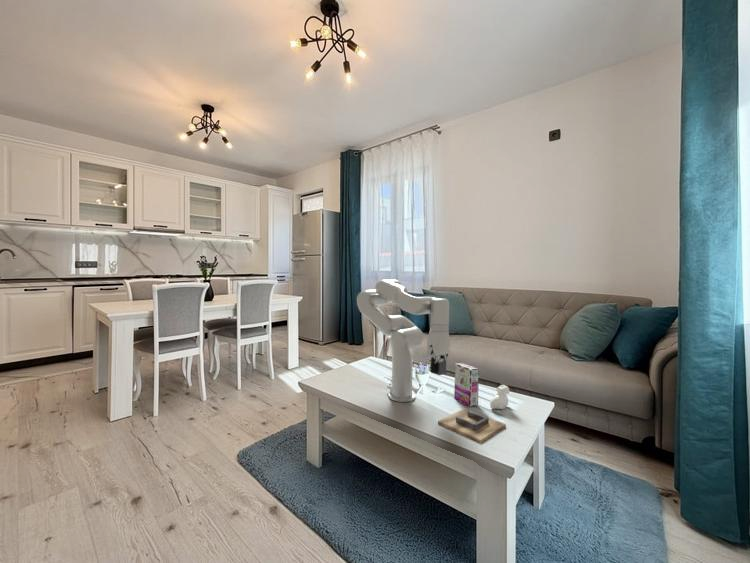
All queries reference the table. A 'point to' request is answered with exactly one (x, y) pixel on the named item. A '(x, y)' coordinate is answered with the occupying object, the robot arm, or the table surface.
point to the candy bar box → (466, 384)
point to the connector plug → (441, 366)
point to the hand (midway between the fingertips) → (438, 370)
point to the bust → (500, 398)
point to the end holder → (472, 425)
